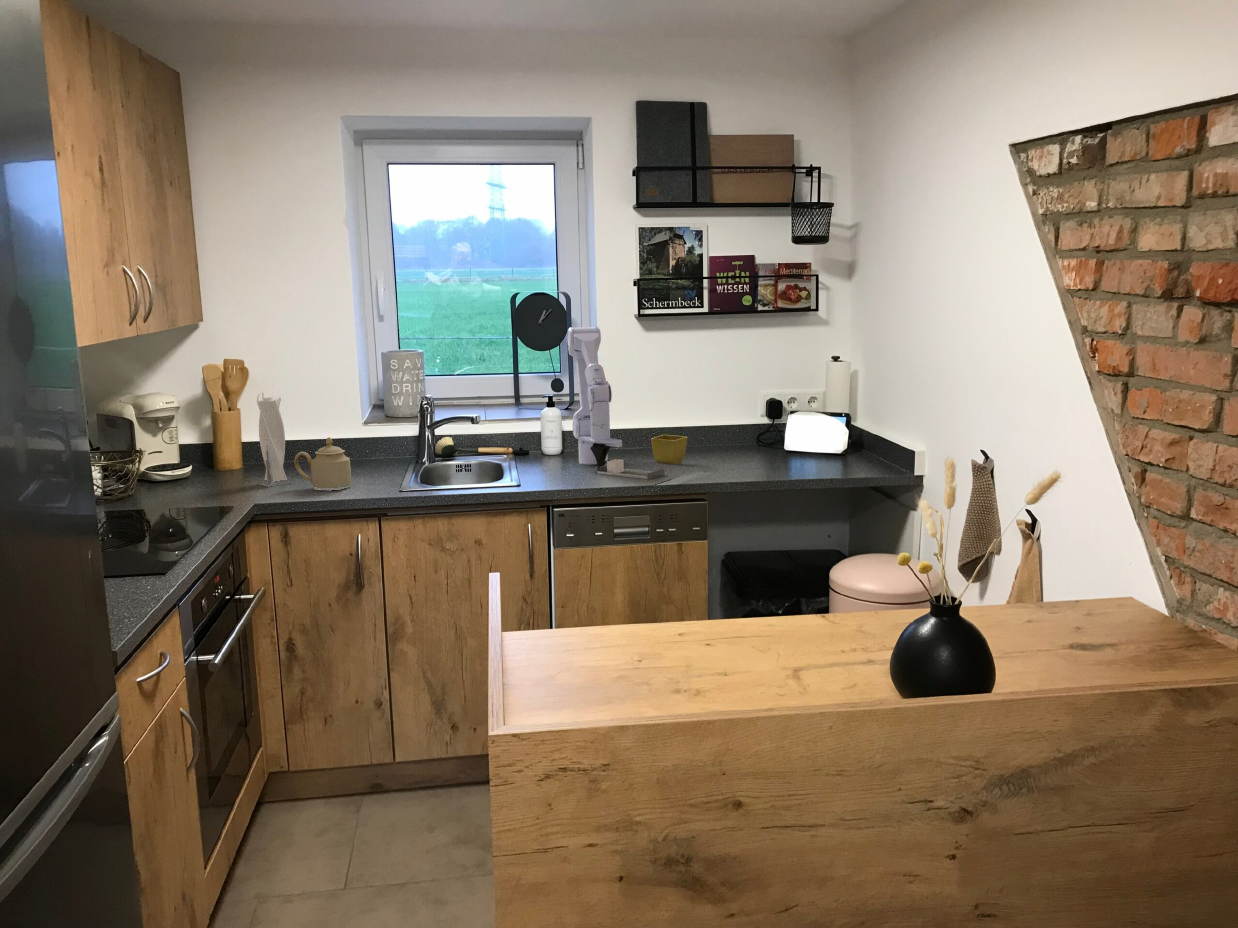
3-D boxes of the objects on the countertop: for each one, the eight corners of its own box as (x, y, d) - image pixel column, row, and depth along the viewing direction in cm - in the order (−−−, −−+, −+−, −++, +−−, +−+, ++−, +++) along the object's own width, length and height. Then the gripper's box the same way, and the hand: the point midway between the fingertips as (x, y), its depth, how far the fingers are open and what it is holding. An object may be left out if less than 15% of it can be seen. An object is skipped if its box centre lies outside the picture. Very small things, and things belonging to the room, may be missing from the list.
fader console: (605, 472, 298) (605, 462, 297) (671, 479, 284) (671, 469, 283) (587, 477, 290) (587, 466, 290) (654, 485, 277) (654, 474, 276)
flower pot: (688, 464, 308) (688, 436, 306) (675, 468, 301) (674, 440, 299) (664, 462, 313) (664, 434, 311) (650, 466, 306) (650, 438, 304)
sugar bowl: (303, 494, 275) (299, 442, 272) (295, 488, 284) (291, 437, 282) (356, 488, 282) (352, 437, 279) (346, 482, 291) (343, 433, 289)
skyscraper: (255, 485, 292) (247, 392, 287) (280, 480, 298) (272, 390, 293) (269, 488, 287) (261, 394, 281) (294, 484, 292) (286, 391, 287)
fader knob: (615, 470, 292) (615, 458, 292) (623, 471, 291) (623, 459, 290) (607, 473, 289) (606, 461, 288) (615, 474, 287) (615, 462, 286)
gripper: (572, 424, 291) (574, 468, 293) (611, 427, 283) (612, 473, 285) (587, 421, 297) (588, 464, 299) (625, 424, 288) (626, 469, 291)
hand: (601, 468), depth 293 cm, fingers closed, pressing on fader console
